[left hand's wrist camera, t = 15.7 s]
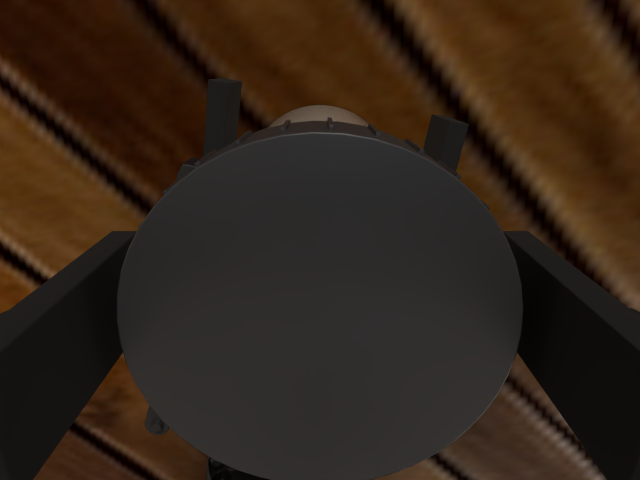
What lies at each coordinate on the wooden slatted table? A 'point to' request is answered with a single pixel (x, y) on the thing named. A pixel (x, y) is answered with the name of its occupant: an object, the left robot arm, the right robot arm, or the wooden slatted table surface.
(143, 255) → the lid
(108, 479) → the wooden slatted table surface
